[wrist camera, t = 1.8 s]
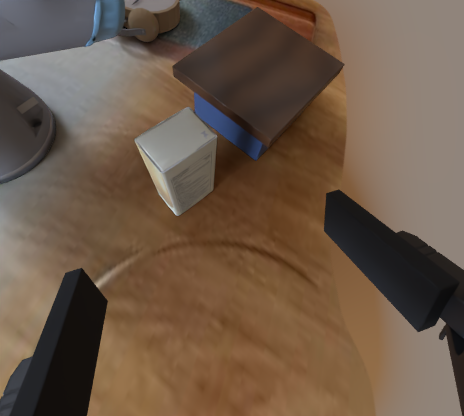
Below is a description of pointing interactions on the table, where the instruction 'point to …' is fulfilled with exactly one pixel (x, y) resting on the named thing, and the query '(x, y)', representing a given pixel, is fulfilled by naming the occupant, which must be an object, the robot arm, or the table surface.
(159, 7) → the alarm clock
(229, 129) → the blue box
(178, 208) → the cosmetic box
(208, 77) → the board
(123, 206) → the table surface
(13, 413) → the robot arm
